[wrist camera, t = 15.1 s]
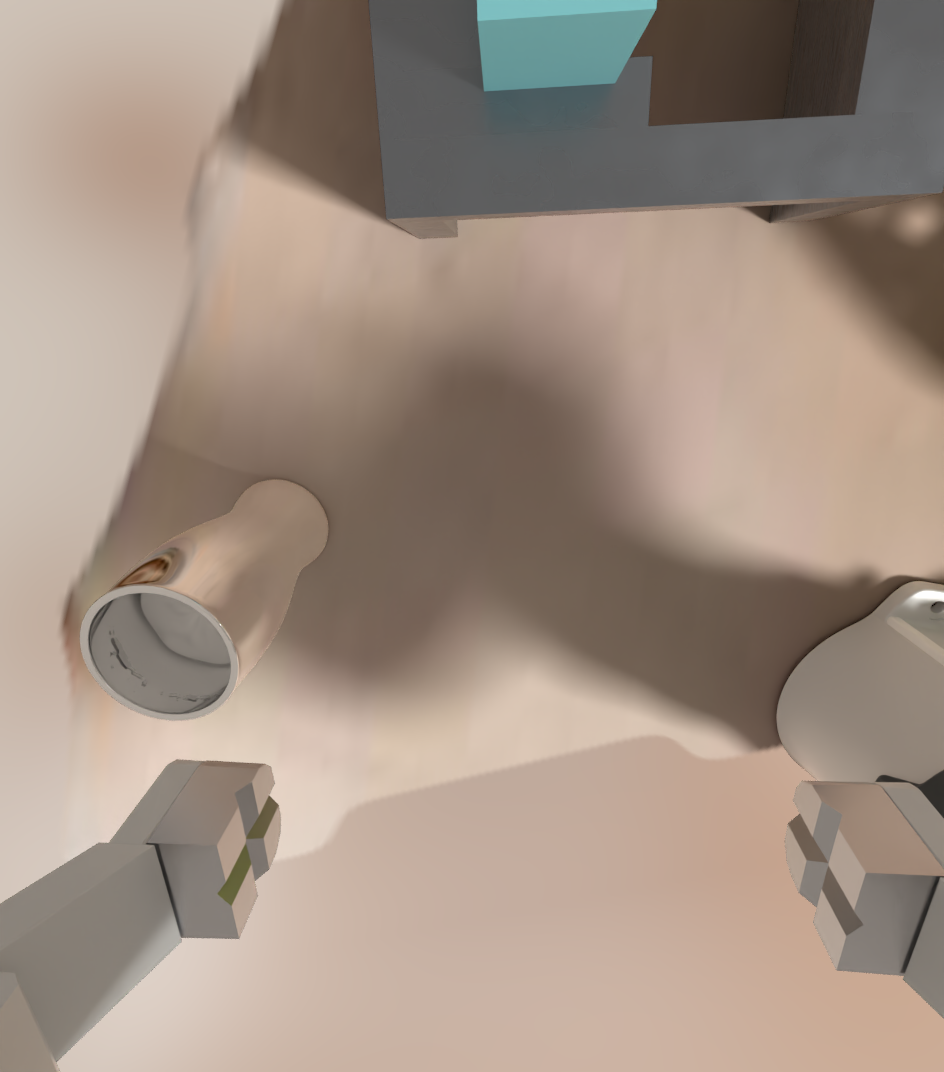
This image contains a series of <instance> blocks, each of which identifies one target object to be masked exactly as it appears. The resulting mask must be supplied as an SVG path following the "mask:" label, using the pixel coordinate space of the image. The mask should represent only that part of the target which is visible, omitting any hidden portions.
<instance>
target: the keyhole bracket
mask: <svg viewBox="0 0 944 1072" xmlns="http://www.w3.org/2000/svg"><path fill="white" fill-rule="evenodd" d="M369 12H370V25H371V37H372V49H373V61H374V74H375V86H376V98H377V111H378V123H379V135H380V147H381V160H382V172H383V184H384V196H385V209H386V219H387V220H389V221H390V222H392V223H394V224H396V225H397V226H399V227H401V228H402V229H404V230H406V231H408V232H409V233H411V234H413V235H414V236H416V237H418V238H419V239H426V238H448V237H458V235H457V220H468V219H489V218H510V217H531V216H553V215H574V214H595V213H616V212H638V211H659V210H680V209H701V208H722V207H744V206H765V205H772V207H771V214H770V222H769V223H777V222H799V221H812V220H817V219H822V218H826V217H831V216H836V215H840V214H845V213H850V212H854V211H859V210H864V209H868V208H873V207H878V206H882V205H887V204H892V203H896V202H901V201H906V200H910V199H915V198H920V197H924V196H929V195H934V194H938V193H942V191H943V187H944V0H799V6H798V13H797V21H796V28H795V36H794V43H793V51H792V58H791V66H790V73H789V80H788V88H787V95H786V103H785V110H784V118H783V119H768V120H750V121H732V122H714V123H696V124H677V125H659V126H648V123H649V107H650V91H651V75H652V59H653V56H645V57H629V59H628V61H627V63H626V64H625V66H624V68H623V70H622V72H621V73H620V75H619V77H618V79H617V81H616V82H615V83H613V84H596V85H580V86H564V87H548V88H532V89H515V90H499V91H484V86H483V75H482V64H481V53H480V42H479V31H478V18H477V0H369Z"/></svg>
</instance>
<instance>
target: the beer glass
mask: <svg viewBox="0 0 944 1072" xmlns="http://www.w3.org/2000/svg"><path fill="white" fill-rule="evenodd" d="M328 531H329V527H328V520H327V516H326V513H325V511H324V509H323V507H322V505H321V504H320V502H319V501H318V500H317V499H316V497H315V496H314V495H313V494H311V493H310V492H309V491H308V490H306V489H305V488H303V487H302V486H300V485H298V484H296V483H293V482H290V481H286V480H280V479H271V480H264V481H261V482H258V483H256V484H254V485H252V486H250V487H249V488H248V489H246V490H245V491H244V492H243V493H242V495H241V496H240V497H239V499H238V500H237V502H236V503H235V505H234V507H233V509H232V510H231V512H229V513H227V514H225V515H223V516H221V517H218V518H215V519H213V520H210V521H207V522H205V523H202V524H200V525H198V526H195V527H193V528H191V529H189V530H186V531H184V532H182V533H180V534H178V535H176V536H174V537H173V538H171V539H169V540H168V541H166V542H165V543H163V544H162V545H160V546H159V547H157V548H156V549H155V550H153V551H152V552H150V553H149V554H148V555H147V556H146V557H144V558H143V559H142V560H141V561H140V562H138V563H137V564H136V565H135V566H134V567H132V568H131V569H130V570H129V571H128V572H127V573H126V574H125V575H124V576H123V577H122V578H121V579H120V580H119V581H118V582H117V583H116V584H115V585H114V586H113V587H112V588H111V589H110V590H109V591H108V592H107V593H106V594H104V595H103V596H102V597H100V598H99V599H98V600H96V601H95V602H94V603H93V604H92V606H91V607H90V608H89V610H88V611H87V613H86V614H85V616H84V619H83V621H82V625H81V629H80V647H81V652H82V656H83V659H84V661H85V664H86V666H87V668H88V670H89V672H90V673H91V675H92V676H93V678H94V679H95V680H96V682H97V683H98V684H99V685H100V686H101V687H102V689H103V690H104V691H105V692H107V693H108V694H109V695H110V696H111V697H112V698H114V699H115V700H116V701H118V702H119V703H121V704H122V705H124V706H126V707H127V708H129V709H131V710H133V711H135V712H138V713H140V714H143V715H145V716H149V717H152V718H156V719H161V720H169V721H184V720H192V719H196V718H200V717H203V716H206V715H208V714H210V713H212V712H214V711H215V710H217V709H218V708H220V707H221V706H222V705H223V704H224V703H225V702H226V701H227V700H228V699H229V698H230V696H231V695H232V693H233V691H234V690H235V689H236V687H237V686H238V685H239V684H240V683H241V682H242V680H243V679H244V678H245V677H246V676H247V675H248V673H249V672H250V671H251V670H252V668H253V667H254V666H255V665H256V663H257V662H258V661H259V659H260V658H261V657H262V655H263V654H264V652H265V651H266V650H267V648H268V647H269V645H270V644H271V642H272V640H273V639H274V637H275V635H276V634H277V632H278V630H279V628H280V627H281V625H282V622H283V620H284V617H285V615H286V613H287V610H288V608H289V605H290V602H291V598H292V595H293V592H294V589H295V585H296V581H297V578H298V575H299V573H300V571H301V569H302V568H304V567H305V566H307V565H308V564H310V563H311V562H312V561H314V560H315V559H316V558H317V557H318V556H319V555H320V554H321V552H322V551H323V549H324V547H325V545H326V542H327V538H328Z"/></svg>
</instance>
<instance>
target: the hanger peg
mask: <svg viewBox="0 0 944 1072" xmlns="http://www.w3.org/2000/svg"><path fill="white" fill-rule="evenodd" d="M656 8H657V0H477V18H478V31H479V42H480V53H481V64H482V75H483V86H484V91H499V90H515V89H532V88H548V87H564V86H580V85H596V84H613V83H615V82H616V81H617V79H618V77H619V75H620V73H621V72H622V70H623V68H624V66H625V64H626V63H627V61H628V59H629V57H630V55H631V54H632V52H633V50H634V48H635V46H636V45H637V43H638V41H639V39H640V38H641V36H642V34H643V32H644V30H645V29H646V27H647V25H648V23H649V21H650V20H651V18H652V16H653V14H654V12H655V11H656Z"/></svg>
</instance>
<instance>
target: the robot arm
mask: <svg viewBox="0 0 944 1072" xmlns="http://www.w3.org/2000/svg"><path fill="white" fill-rule="evenodd" d="M935 602H937V603H936V604H935V605H934V606H933V607H931V605H932V604H933V603H935ZM777 729H778V733H779V737H780V740H781V742H782V744H783V746H784V748H785V750H786V751H787V752H788V754H789V755H790V757H791V758H792V759H793V760H794V761H795V762H796V763H797V764H798V765H800V766H801V767H802V768H803V769H805V770H806V771H807V772H808V773H809V774H811V775H812V776H813V777H814V778H815V779H816V780H817V781H801V782H800V784H799V785H798V786H797V788H796V791H795V795H794V799H793V802H794V803H795V805H796V807H797V809H798V811H799V813H800V814H799V815H798V816H796V817H795V818H794V819H793V820H792V821H791V822H789V823H788V826H787V832H786V838H785V848H786V858H787V863H788V866H789V870H790V873H791V877H792V879H793V881H794V883H795V885H796V887H797V890H798V892H799V893H800V894H801V895H802V896H804V897H805V898H806V899H807V900H808V901H810V902H811V903H812V904H813V905H814V906H816V907H817V910H816V913H815V917H814V921H813V923H814V925H815V927H816V929H817V931H818V934H819V936H820V938H821V940H822V942H823V944H824V946H825V948H826V950H827V952H828V954H829V956H830V958H831V960H832V962H833V964H834V966H835V968H836V970H838V971H851V972H863V973H874V974H887V975H899V976H904V978H903V980H904V981H905V982H906V983H907V984H908V985H909V986H910V987H911V988H912V989H913V990H915V991H916V992H917V993H918V994H919V995H920V996H921V997H922V998H923V999H924V1000H925V1001H926V1002H927V1003H928V1004H929V1005H930V1006H931V1007H932V1008H933V1009H934V1010H935V1011H936V1012H938V1014H939V1015H941V1016H942V1017H943V1018H944V585H942V584H936V583H930V582H923V581H913V582H909V583H907V584H905V585H903V586H901V587H900V588H898V589H897V590H896V591H894V592H893V593H892V594H891V595H890V596H889V597H888V598H887V599H886V600H885V601H884V602H883V603H882V604H881V605H880V606H879V607H878V608H877V609H876V610H875V611H874V612H873V613H872V614H870V615H869V616H867V617H866V618H864V619H862V620H861V621H859V622H857V623H855V624H853V625H851V626H849V627H847V628H845V629H843V630H841V631H839V632H837V633H836V634H834V635H832V636H831V637H829V638H828V639H826V640H825V641H823V642H822V643H821V644H819V645H818V646H817V647H816V648H814V649H813V650H812V651H811V652H810V653H809V654H808V655H807V656H806V657H805V658H804V659H803V660H802V661H801V662H800V663H799V664H798V666H797V667H796V668H795V669H794V671H793V672H792V674H791V675H790V677H789V678H788V680H787V682H786V684H785V686H784V688H783V690H782V693H781V696H780V699H779V703H778V707H777ZM274 784H275V782H274V778H273V773H272V769H271V767H270V766H268V765H266V764H258V763H241V762H223V761H193V760H178V759H177V760H175V761H173V762H171V763H170V764H168V765H167V766H166V767H165V769H164V770H163V771H162V773H161V774H160V775H159V777H158V778H157V779H156V781H155V782H154V783H153V785H152V786H151V787H150V789H149V790H148V791H147V793H146V794H145V795H144V797H143V798H142V799H141V801H140V802H139V803H138V805H137V806H136V807H135V809H134V810H133V811H132V813H131V814H130V815H129V817H128V818H127V819H126V821H125V822H124V823H123V825H122V826H121V827H120V829H119V830H118V831H117V832H116V834H115V835H114V836H113V838H112V839H111V840H110V842H109V843H98V844H96V845H94V846H93V847H91V848H90V849H88V850H86V851H85V852H83V853H81V854H80V855H78V856H77V857H75V858H73V859H72V860H70V861H68V862H67V863H65V864H64V865H62V866H60V867H59V868H57V869H56V870H54V871H52V872H51V873H49V874H47V875H46V876H44V877H43V878H41V879H39V880H38V881H36V882H34V883H33V884H31V885H30V886H28V887H26V888H25V889H23V890H22V891H20V892H18V893H17V894H15V895H14V896H12V897H10V898H9V899H7V900H5V901H4V902H2V903H1V904H0V1072H60V1070H59V1068H58V1066H57V1063H56V1062H57V1061H58V1060H59V1059H60V1058H61V1057H62V1056H63V1055H64V1054H66V1053H67V1052H68V1050H70V1049H71V1048H72V1047H73V1046H74V1045H75V1044H76V1043H77V1042H78V1041H79V1040H80V1039H81V1038H82V1037H83V1036H84V1035H85V1034H86V1033H87V1032H88V1031H89V1030H90V1029H91V1028H93V1027H94V1025H96V1024H97V1023H98V1022H99V1021H100V1020H101V1019H102V1018H103V1017H104V1016H105V1015H106V1014H107V1013H108V1012H109V1011H110V1010H111V1009H112V1008H113V1007H114V1006H115V1005H116V1004H117V1003H118V1002H119V1001H120V1000H121V999H123V998H124V997H125V996H126V995H127V994H128V993H129V992H130V991H131V990H132V989H133V988H134V987H135V986H136V985H137V984H138V983H139V982H140V981H141V980H142V979H143V978H144V977H145V976H146V975H147V974H148V973H150V971H152V970H153V969H154V968H155V967H156V966H157V965H158V964H159V963H160V962H161V961H162V960H163V959H164V958H165V957H166V956H167V955H168V954H169V953H170V952H171V951H172V950H173V949H174V948H175V947H176V946H178V945H179V943H181V941H182V939H181V938H225V939H227V938H228V939H239V938H240V936H241V933H242V931H243V929H244V927H245V924H246V922H247V920H248V917H249V915H250V913H251V910H252V908H253V906H254V904H255V901H256V899H257V896H258V895H257V890H256V884H255V881H256V880H257V879H258V878H259V877H260V876H261V875H263V874H264V873H265V872H266V871H268V870H269V869H270V866H271V864H272V861H273V859H274V857H275V854H276V851H277V847H278V842H279V837H280V832H281V816H280V810H279V805H278V804H277V803H276V802H275V801H274V800H273V799H272V798H271V797H270V796H269V794H270V792H271V790H272V788H273V786H274Z"/></svg>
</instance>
